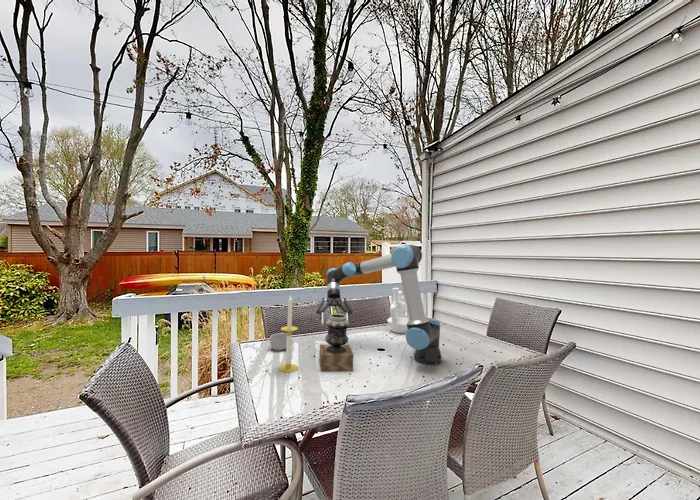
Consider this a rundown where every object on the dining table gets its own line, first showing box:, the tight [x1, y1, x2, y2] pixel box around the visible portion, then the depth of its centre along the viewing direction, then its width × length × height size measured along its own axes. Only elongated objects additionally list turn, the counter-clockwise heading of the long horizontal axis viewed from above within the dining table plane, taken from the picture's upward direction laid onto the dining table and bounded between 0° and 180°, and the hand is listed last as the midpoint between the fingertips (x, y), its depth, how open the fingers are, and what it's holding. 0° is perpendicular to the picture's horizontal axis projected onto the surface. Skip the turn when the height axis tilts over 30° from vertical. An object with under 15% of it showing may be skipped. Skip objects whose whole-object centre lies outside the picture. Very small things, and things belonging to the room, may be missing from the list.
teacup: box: [269, 331, 287, 352], centre depth 202 cm, size 14×11×8 cm
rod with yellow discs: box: [277, 294, 299, 373], centre depth 172 cm, size 10×10×38 cm
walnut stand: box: [318, 344, 354, 372], centre depth 180 cm, size 16×16×8 cm
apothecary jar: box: [324, 313, 350, 353], centre depth 179 cm, size 12×12×18 cm
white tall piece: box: [386, 287, 409, 334], centre depth 243 cm, size 18×22×32 cm
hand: (335, 324), depth 188 cm, fingers open, 13 cm apart
